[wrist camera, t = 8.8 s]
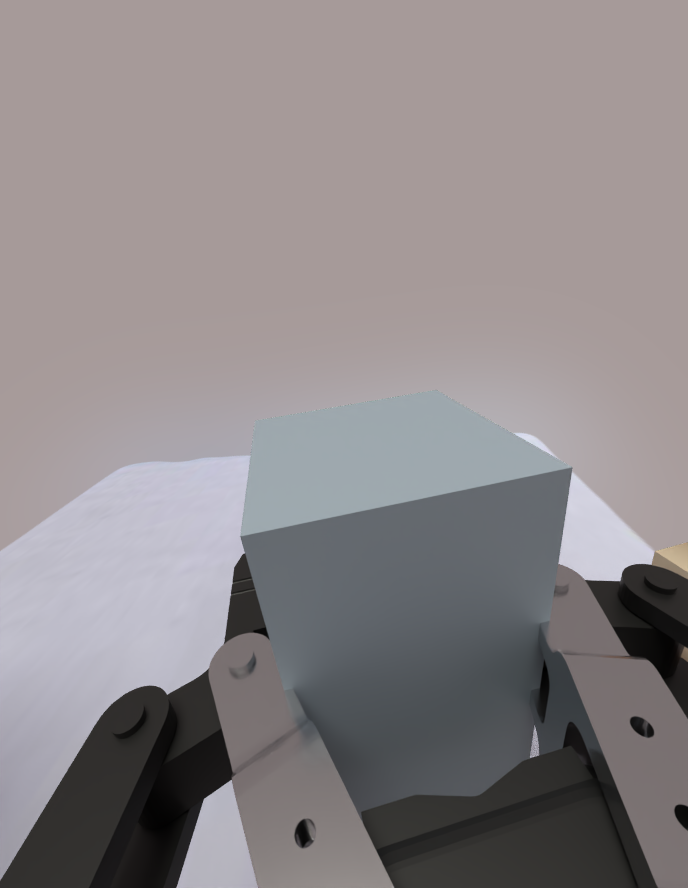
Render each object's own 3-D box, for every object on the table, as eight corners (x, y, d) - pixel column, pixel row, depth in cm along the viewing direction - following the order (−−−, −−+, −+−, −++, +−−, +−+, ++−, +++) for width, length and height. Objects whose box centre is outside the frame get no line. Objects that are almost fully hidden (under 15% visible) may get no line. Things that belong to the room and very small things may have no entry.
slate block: (339, 886, 9) (240, 536, 5) (317, 691, 14) (254, 420, 9) (519, 826, 10) (572, 467, 6) (441, 658, 14) (436, 389, 10)
